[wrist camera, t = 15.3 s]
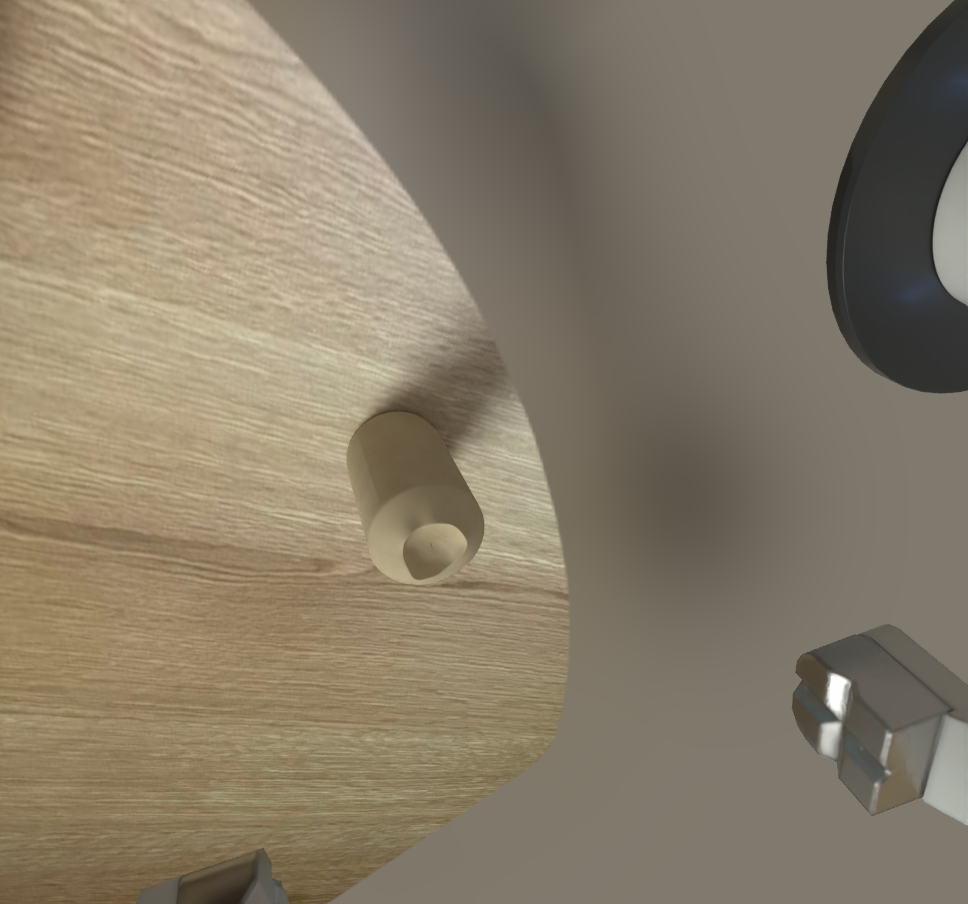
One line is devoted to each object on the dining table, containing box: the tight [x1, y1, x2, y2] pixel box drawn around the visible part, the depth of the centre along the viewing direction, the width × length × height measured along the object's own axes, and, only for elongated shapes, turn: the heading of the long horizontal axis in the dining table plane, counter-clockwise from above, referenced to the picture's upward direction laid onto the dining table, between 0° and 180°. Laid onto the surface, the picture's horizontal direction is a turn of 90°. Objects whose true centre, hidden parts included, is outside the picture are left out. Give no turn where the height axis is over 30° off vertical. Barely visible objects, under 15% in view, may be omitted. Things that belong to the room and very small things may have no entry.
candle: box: [347, 411, 484, 585], centre depth 36 cm, size 6×6×10 cm
